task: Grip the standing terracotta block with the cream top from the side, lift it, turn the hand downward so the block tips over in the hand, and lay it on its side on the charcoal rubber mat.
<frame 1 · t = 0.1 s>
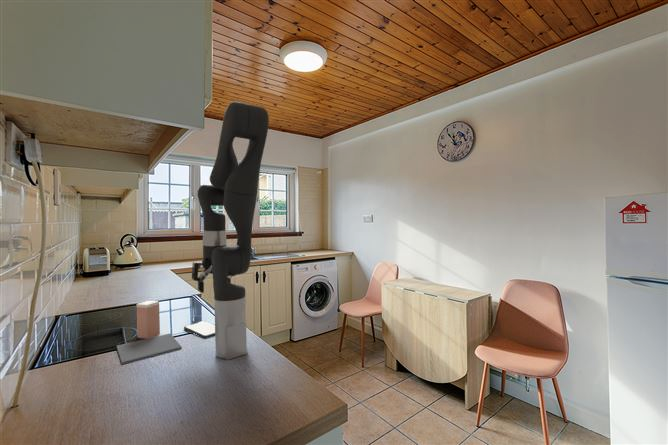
hand: (214, 290, 106), 17 cm above the countertop, tool pointing down, fingers open, 8 cm apart
phone case: (204, 332, 116), on the countertop
terracotta block: (148, 335, 112), on the countertop
charcoal mat: (148, 348, 101), on the countertop
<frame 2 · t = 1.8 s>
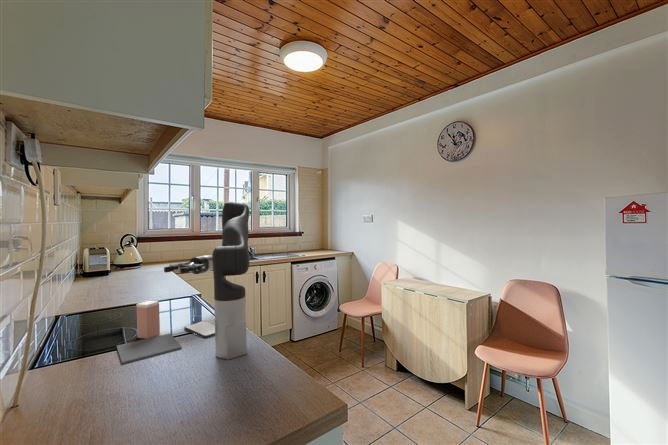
hand: (172, 270, 122), 22 cm above the countertop, tool horizontal, fingers open, 8 cm apart
nothing on the countertop moved.
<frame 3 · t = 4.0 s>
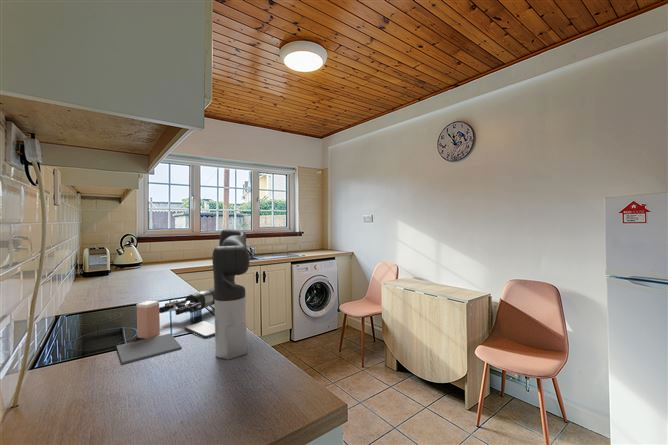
hand: (167, 311, 120), 6 cm above the countertop, tool horizontal, fingers open, 8 cm apart
nothing on the countertop moved.
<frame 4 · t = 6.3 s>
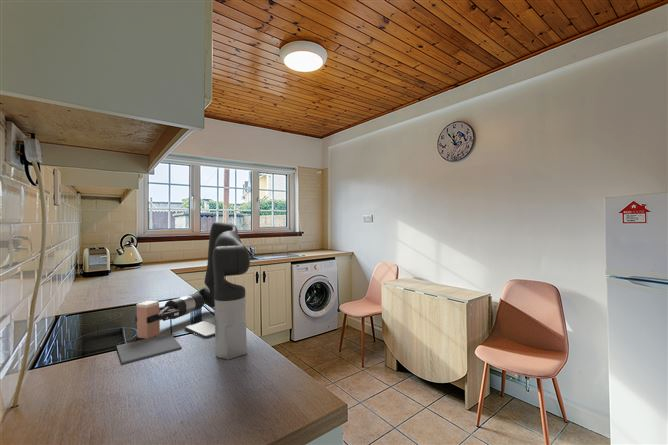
hand: (141, 319, 109), 7 cm above the countertop, tool horizontal, fingers closed on terracotta block, 5 cm apart
terracotta block: (148, 335, 112), on the countertop, touching gripper
everything else where it was.
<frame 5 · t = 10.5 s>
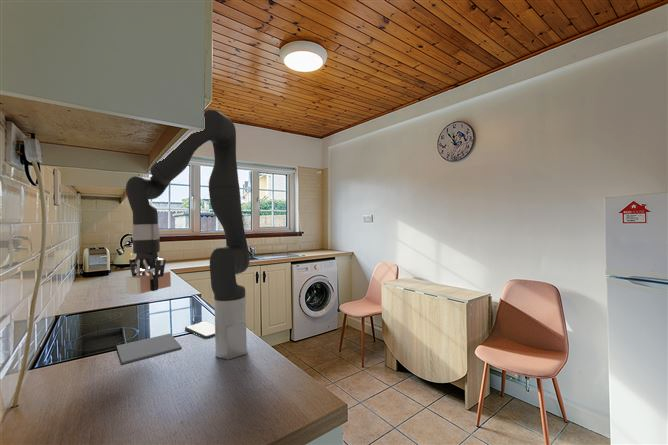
hand: (148, 290, 101), 19 cm above the countertop, tool pointing down, fingers closed on terracotta block, 5 cm apart
terracotta block: (165, 278, 107), point 21 cm above the countertop, tilted 90°, touching gripper
everything else where it was.
when the fingers open (2 cm above the countertop, at t = 13.5 s): terracotta block drops 1 cm, resting on charcoal mat.
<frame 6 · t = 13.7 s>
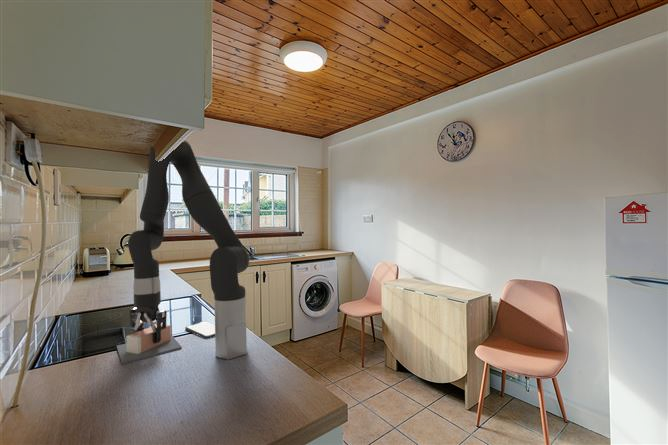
hand: (148, 341, 101), 2 cm above the countertop, tool pointing down, fingers open, 6 cm apart
terracotta block: (165, 331, 107), point 3 cm above the countertop, tilted 90°, touching charcoal mat
everything else where it was.
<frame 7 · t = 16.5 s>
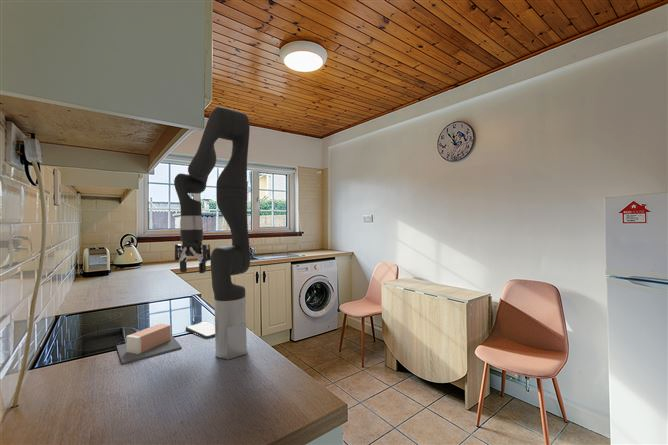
hand: (192, 272, 113), 22 cm above the countertop, tool pointing down, fingers open, 8 cm apart
nothing on the countertop moved.
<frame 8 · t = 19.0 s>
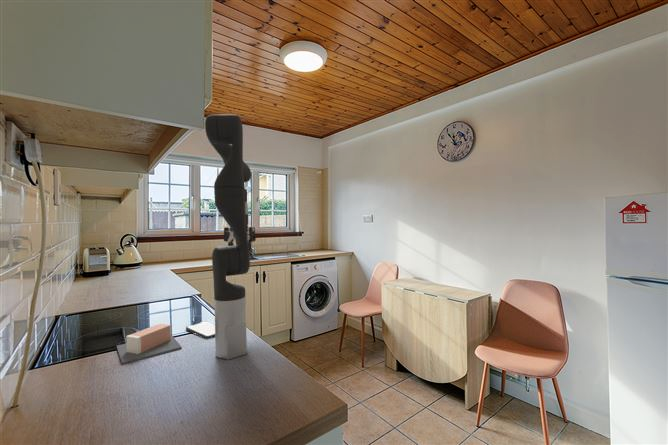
hand: (239, 251, 129), 28 cm above the countertop, tool pointing down, fingers open, 8 cm apart
at the end: terracotta block tilted 90°; terracotta block inside the target area on the charcoal mat (6.6 cm from its centre), point 3.1 cm above the charcoal mat's base; the gripper is holding nothing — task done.
